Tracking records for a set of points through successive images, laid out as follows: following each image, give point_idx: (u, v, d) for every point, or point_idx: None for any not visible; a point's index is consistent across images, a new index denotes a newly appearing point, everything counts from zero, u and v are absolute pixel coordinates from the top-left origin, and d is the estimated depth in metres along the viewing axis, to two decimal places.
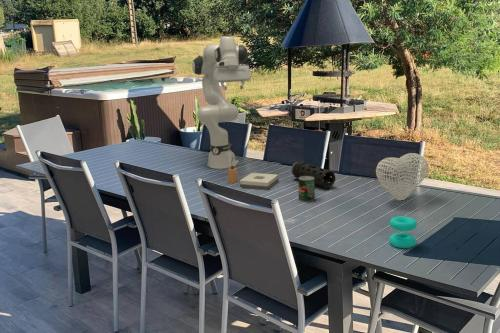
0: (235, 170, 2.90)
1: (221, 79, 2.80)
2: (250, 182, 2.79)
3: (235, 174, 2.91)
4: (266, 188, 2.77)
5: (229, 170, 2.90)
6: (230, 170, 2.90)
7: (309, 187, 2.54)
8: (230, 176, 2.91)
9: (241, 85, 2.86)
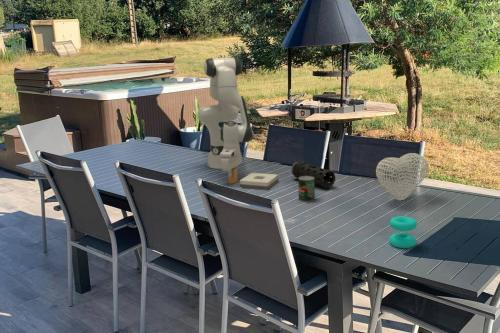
0: (235, 170, 2.90)
1: (230, 168, 2.84)
2: (250, 182, 2.79)
3: (235, 174, 2.91)
4: (266, 188, 2.77)
5: None
6: None
7: (309, 187, 2.54)
8: None
9: None
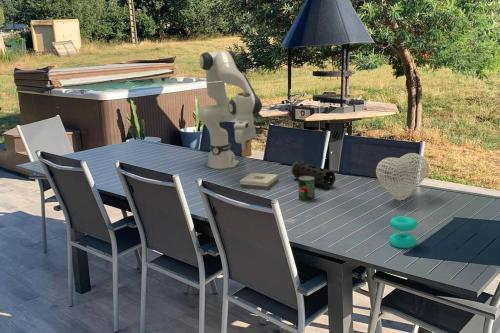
0: (249, 143, 2.83)
1: (244, 140, 2.77)
2: (250, 182, 2.79)
3: (249, 147, 2.83)
4: (266, 188, 2.77)
5: None
6: None
7: (309, 187, 2.54)
8: None
9: None
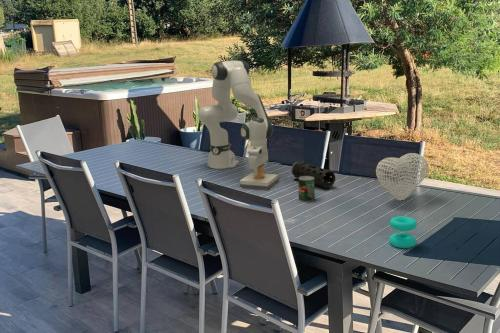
0: (262, 168, 2.84)
1: (257, 166, 2.78)
2: (250, 182, 2.79)
3: (262, 172, 2.84)
4: (266, 188, 2.77)
5: None
6: None
7: (309, 187, 2.54)
8: (257, 175, 2.84)
9: None
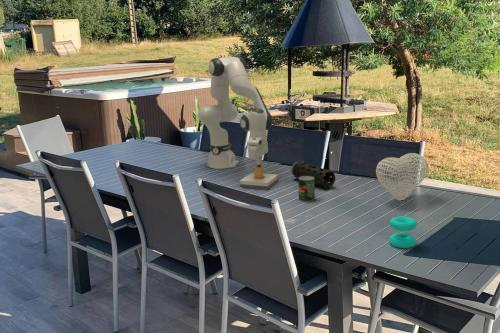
0: (262, 168, 2.84)
1: (257, 157, 2.76)
2: (250, 182, 2.79)
3: (262, 172, 2.84)
4: (266, 188, 2.77)
5: (256, 168, 2.84)
6: (257, 168, 2.83)
7: (309, 187, 2.54)
8: (257, 175, 2.84)
9: None
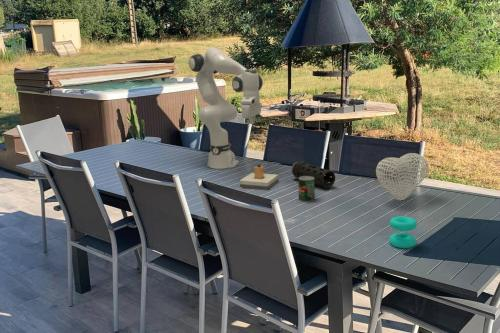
0: (262, 168, 2.84)
1: (250, 116, 2.88)
2: (250, 182, 2.79)
3: (262, 172, 2.84)
4: (266, 188, 2.77)
5: (256, 168, 2.84)
6: (257, 168, 2.83)
7: (309, 187, 2.54)
8: (257, 175, 2.84)
9: None
